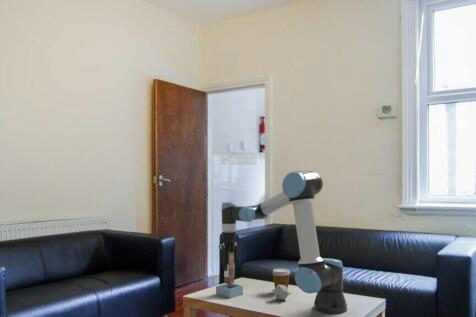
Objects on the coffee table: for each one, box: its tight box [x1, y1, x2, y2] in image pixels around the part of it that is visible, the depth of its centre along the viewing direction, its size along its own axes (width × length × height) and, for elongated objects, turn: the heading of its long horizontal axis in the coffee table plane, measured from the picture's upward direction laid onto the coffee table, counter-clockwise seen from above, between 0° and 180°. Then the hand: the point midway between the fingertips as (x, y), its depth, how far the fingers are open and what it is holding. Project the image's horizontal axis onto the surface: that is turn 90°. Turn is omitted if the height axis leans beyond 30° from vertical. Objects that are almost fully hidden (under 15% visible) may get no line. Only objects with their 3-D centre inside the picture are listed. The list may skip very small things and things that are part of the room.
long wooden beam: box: [224, 252, 235, 284], centre depth 236 cm, size 4×4×16 cm
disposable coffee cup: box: [271, 268, 291, 290], centre depth 238 cm, size 10×10×12 cm
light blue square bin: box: [215, 283, 244, 299], centre depth 235 cm, size 10×10×4 cm
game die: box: [271, 283, 292, 302], centre depth 224 cm, size 9×8×10 cm
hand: (229, 276), depth 236 cm, fingers closed on long wooden beam, 3 cm apart
